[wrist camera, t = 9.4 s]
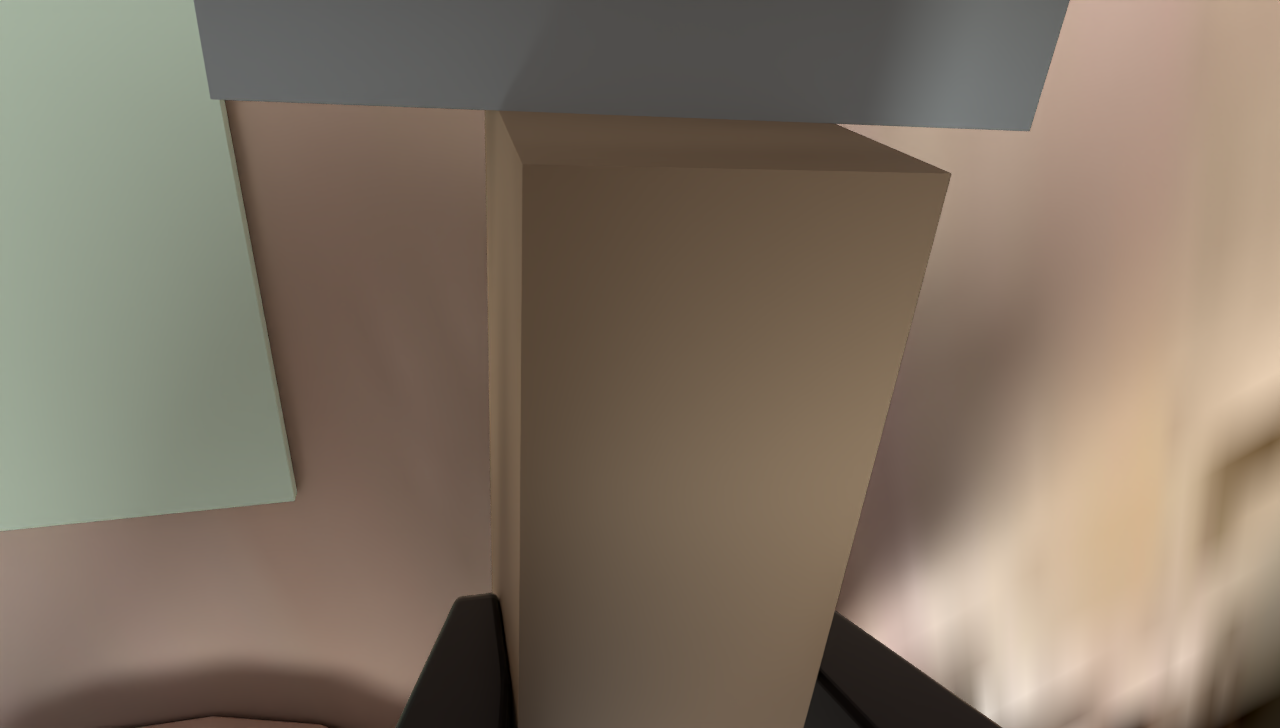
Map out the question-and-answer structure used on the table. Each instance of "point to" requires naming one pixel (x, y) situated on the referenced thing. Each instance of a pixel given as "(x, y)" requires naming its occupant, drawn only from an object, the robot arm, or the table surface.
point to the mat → (125, 276)
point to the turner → (674, 301)
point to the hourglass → (233, 723)
